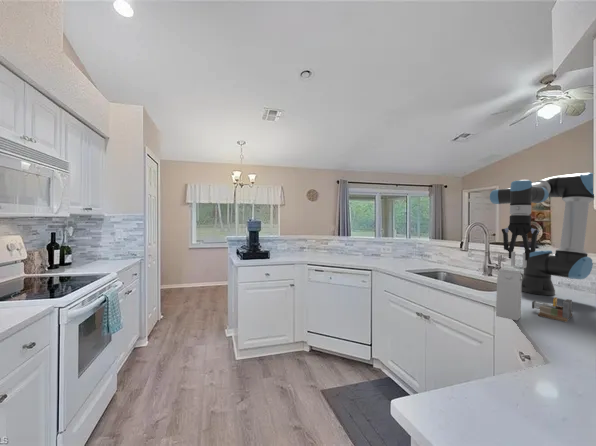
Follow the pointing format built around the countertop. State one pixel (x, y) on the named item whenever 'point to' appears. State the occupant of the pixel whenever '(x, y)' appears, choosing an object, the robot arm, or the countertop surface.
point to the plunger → (538, 304)
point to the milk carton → (508, 294)
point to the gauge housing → (558, 311)
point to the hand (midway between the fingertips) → (518, 266)
